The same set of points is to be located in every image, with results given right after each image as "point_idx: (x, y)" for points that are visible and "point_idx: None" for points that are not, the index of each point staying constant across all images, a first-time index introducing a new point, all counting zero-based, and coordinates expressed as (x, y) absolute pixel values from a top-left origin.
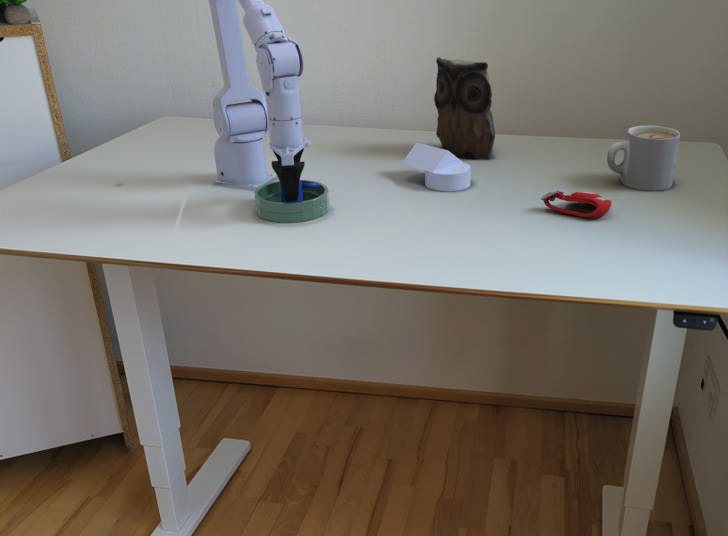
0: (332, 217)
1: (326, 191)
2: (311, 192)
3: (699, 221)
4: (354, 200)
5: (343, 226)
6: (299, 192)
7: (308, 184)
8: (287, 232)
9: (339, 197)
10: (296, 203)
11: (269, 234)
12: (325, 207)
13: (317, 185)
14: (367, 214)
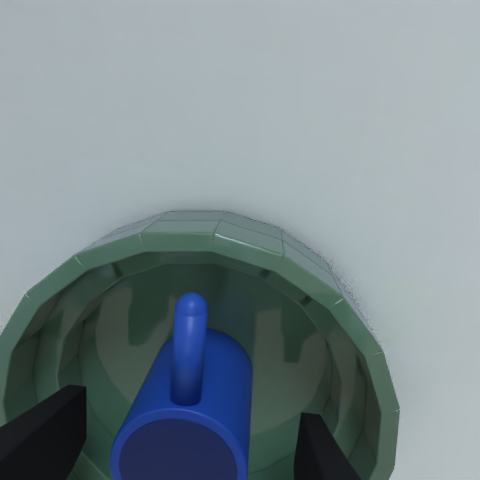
0: (315, 208)
1: (241, 248)
2: (94, 296)
3: None
4: (95, 57)
5: (454, 173)
6: (234, 401)
7: (196, 366)
8: (435, 413)
9: (39, 131)
10: (396, 433)
11: (431, 475)
12: (298, 247)
13: (206, 309)
14: (324, 17)
